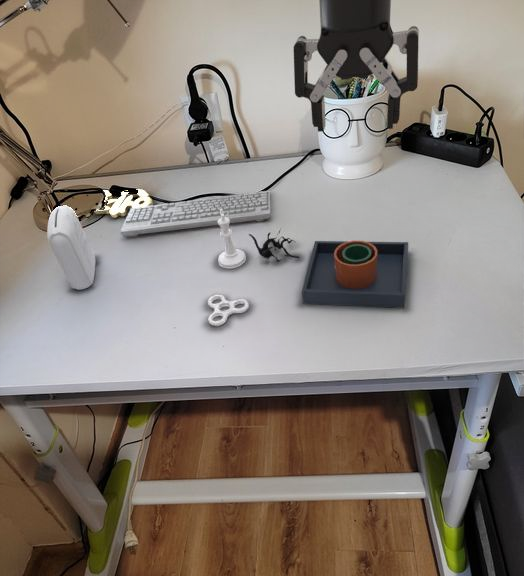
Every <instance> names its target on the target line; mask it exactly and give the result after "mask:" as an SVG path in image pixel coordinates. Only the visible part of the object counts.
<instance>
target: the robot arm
mask: <svg viewBox="0 0 524 576" xmlns="http://www.w3.org/2000/svg"><path fill="white" fill-rule="evenodd" d="M391 4H392V0H319V19H320V20H319V21H320V34H319V38H307V37H306V36H304V35H300V36H298V38H297V40H296V41H295V43H294V45H293V71H294V72H293V76H294V77H293V78H294V95H295V96H296V97H297V98H300V99H301V98H305V99H307V100H309V102H310V110H311V122H312V125H313V128H317V132H319V133H320V132H325V128H326V106H325V105H326V103H325V95H324V93H325V91H326V90H327V88H329V86H330V84H331V83H332V82H333V80H334V79H335V77H337V78H340V80H341V81H344V80H350V79H353V78H357V79H369V77H371V76H372V75H373V76H374V77H375V78H376V79H377V81H378V82H379V83H380V84H381V85H382V86H383V87H384V88H385V90H386V91H387V93H388V98H387V115H386V116H387V117H386V129H387V130H393V129H394V125H398V123H399V121H400V115H401V99H402V96H403V95H404V94H406V93H408V92H414V91H416V90H417V89H418V85H419V84H418V83H419V81H418V80H419V39H420V37H419V36H420V34H419V33H420V31H419V28H418V27H417V26H416V25H413V26H410V27H409V28H408V30H400V31H393V29H392V27H391V7H392V5H391ZM393 45H395V46H397V47H398V49H399V53H401V54H402V55H406V76H403V77H402V78H399V76H398V75H397V74H396V72H395V71H394V68H393V67H392V65H391V63H390V61H389V60H388V59H387V58H386V57H387V56H388V53H389V52H390V51H391V49H392V48H393ZM315 52H318V54H319V56H320V57H321V58H322V59H323V61H324V62H325V64H326V65H325V67H324V69H323V71H322V72H321V74H320V76H319V77H318V79H317V81H316V82H315V83H314V84H313V83H310V82H309V67H308V66H309V65H308V64H309V62H310V61H311V60H312V58H313V57H314V53H315Z"/></svg>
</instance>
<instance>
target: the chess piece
mask: <svg viewBox="0 0 524 576" xmlns="http://www.w3.org/2000/svg"><path fill="white" fill-rule="evenodd" d="M220 214H221V218H220V219H219V220H218V224H219V225H218V226H219V228H220V229H221V231H220V232H219V236H220V237H222V238H224V247H225V250H224V251H222V252H221V253H220V254H219V256H218V258H217V259H218V265H219V266H220V267H221V268H223V269H236V268H239V267H241V266H242V265H244V263H246V260H247V255H246V253H245V252H244V251H243V250H241V249H240V248H235V246H234V244H233V242H232V241H233V240H232V238H231V236H232V235H233V233H234V232H233V230H232V229H231V228H230V224H231V223H230V219H229V218H227V217H225V216H224V213H223V210H222V209H220Z"/></svg>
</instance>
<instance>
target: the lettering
mask: <svg viewBox="0 0 524 576" xmlns="http://www.w3.org/2000/svg"><path fill="white" fill-rule="evenodd" d="M102 190H103V191H104V192H105V195H106V197H105V200H104V202H106V201H108V203H107V205H105V206H104V207H105V209H104V210H98V209H97V210H98V211H97V210H96V211H94V212H93V214H94V215H110V216H111V217H112V218H115V219H116V218H119V216H120V217H126V216H127V212H128V211H129V210H130V209H132V208H135V207H136V208H137V207H142V208H143V206H151V205H153V206H154V202H153V199H152V198H151V197H150V193H147V192H146V191H145V190H144V189H137V190H138V193H137V194H128V193H129V192H124V191H122V192H120V193H121V194H120V195H121V196H120V197H119V198H118V199H117V198H113V195H112V193H110V191H109V190H107V189H102ZM134 198H137V199H135V200H134ZM90 216H92V214H91V213H90V214H89V215H87V216H84V217H85V218H88V217H90Z"/></svg>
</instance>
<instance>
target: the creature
mask: <svg viewBox="0 0 524 576" xmlns="http://www.w3.org/2000/svg"><path fill="white" fill-rule="evenodd" d="M281 230H282V228H280V229H279V230H278V232H277V234H276V236H275V237H272V238H271V237H270V235H271V232H270V231H269V232H268V233H267V239H266V240H265V241H264V243H263V244H262V247H260V246H259V244H258V241H257V239H256V237H255V236H254V235H252V234H251V233H249V234H248V236H250V237H251V238H252V240H253V242H254V245H255V247H256V249H257V251H258V254H259V255H260V256H261V257H262V258H265V259H268V260H269V259H270V258H271V257H274V259H275V261H276V262H277V263H279V262H280V261H282V258H280V259H278V256H276V255H275V254H273V252H272V249H273V248H274V251H277V250H281V249H282V250H283V252H284V253H285V254H284V258H286V257H290V258H291V257H292V258H293V259H294V258H295V259H299V258H300V256H298V255H297V256H295V255H292V254H290V253H289V252H288V250H287V249H286V247H284V243H285V242H287V244H289V245H290V244H291V243H292V242H294V243H297V242H296V241H295V240H294V239H291V237H287V238H285V237H284V236H281V237H280V238H278V235H280V233H281ZM277 238H278V240H277V241H276V239H277ZM280 239H282V240H281V241H280ZM270 243H272V245H273V246H270V247H269V244H270Z"/></svg>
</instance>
